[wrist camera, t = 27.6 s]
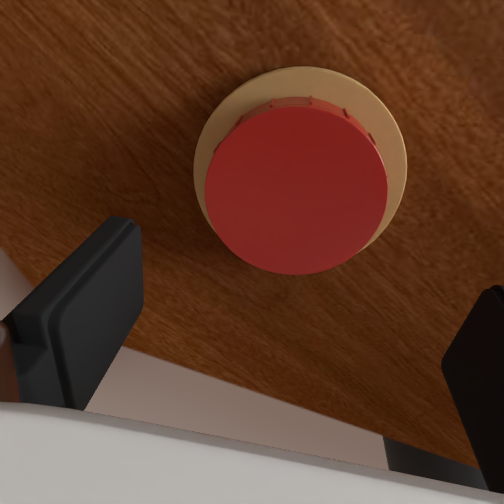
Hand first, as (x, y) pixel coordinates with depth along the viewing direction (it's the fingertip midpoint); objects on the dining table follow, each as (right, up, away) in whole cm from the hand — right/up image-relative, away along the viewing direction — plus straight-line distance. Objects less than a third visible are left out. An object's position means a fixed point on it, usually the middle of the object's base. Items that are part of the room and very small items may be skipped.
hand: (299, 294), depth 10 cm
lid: (0, +3, +4) cm, 5 cm away
